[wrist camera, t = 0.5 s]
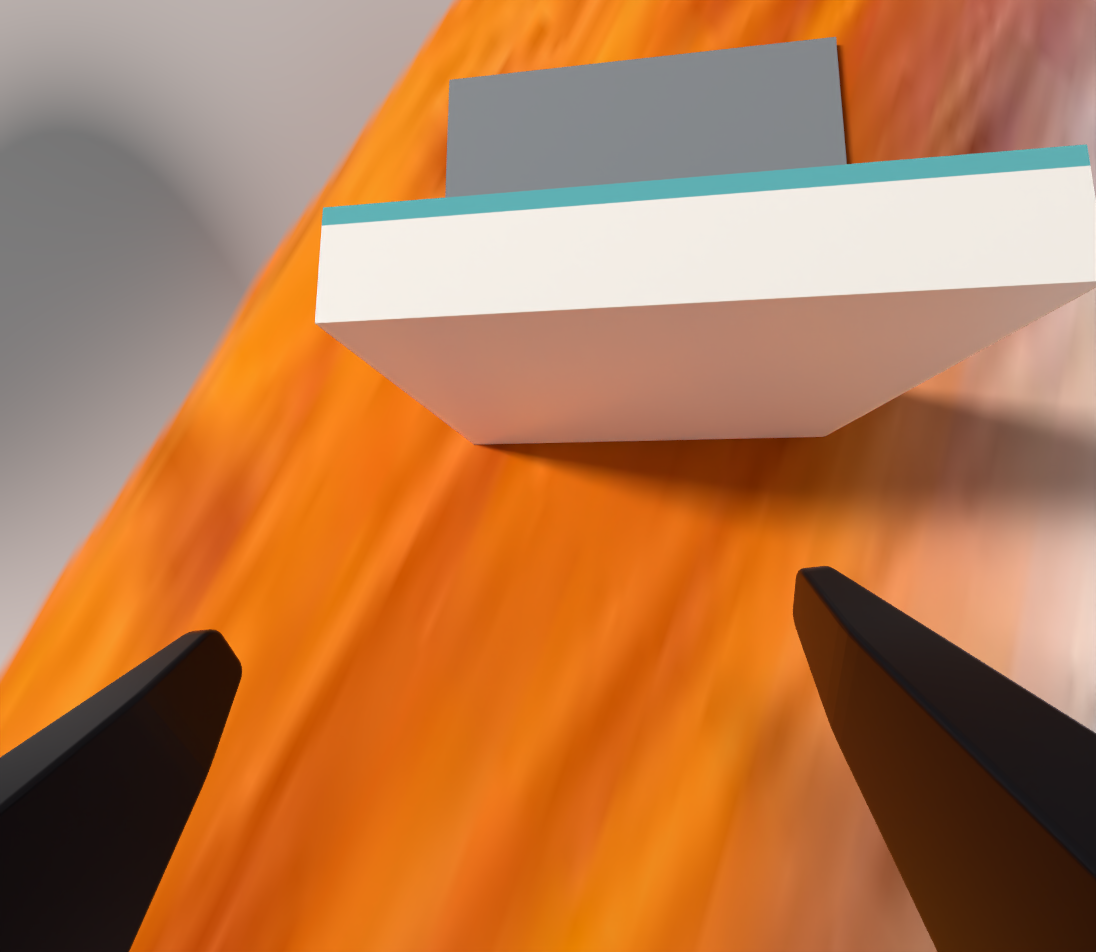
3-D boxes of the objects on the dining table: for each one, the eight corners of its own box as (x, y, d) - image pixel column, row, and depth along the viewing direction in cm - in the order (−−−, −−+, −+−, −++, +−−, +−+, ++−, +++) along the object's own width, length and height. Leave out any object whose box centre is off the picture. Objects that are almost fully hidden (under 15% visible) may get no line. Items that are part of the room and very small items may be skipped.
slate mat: (859, 353, 21) (862, 350, 20) (441, 370, 23) (439, 367, 22) (833, 43, 23) (835, 36, 22) (451, 85, 25) (449, 79, 24)
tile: (824, 436, 20) (1108, 280, 9) (474, 444, 22) (315, 323, 10) (819, 375, 21) (1086, 144, 9) (475, 387, 23) (323, 207, 11)
